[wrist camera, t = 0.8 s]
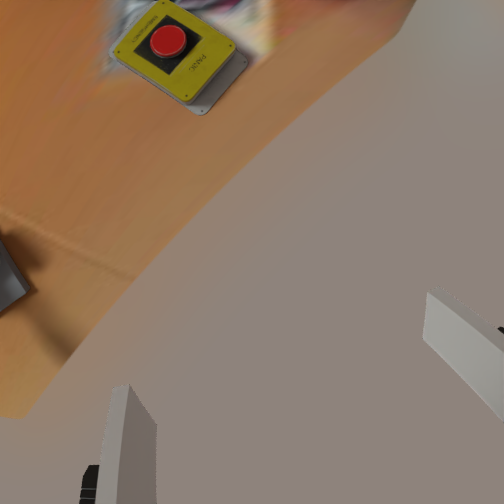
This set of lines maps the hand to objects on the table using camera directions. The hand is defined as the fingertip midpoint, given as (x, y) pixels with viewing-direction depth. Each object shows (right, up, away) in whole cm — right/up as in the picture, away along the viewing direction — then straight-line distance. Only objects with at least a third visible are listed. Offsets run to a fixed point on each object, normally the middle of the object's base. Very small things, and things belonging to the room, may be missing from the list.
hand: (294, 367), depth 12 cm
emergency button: (-10, +28, +19) cm, 35 cm away
